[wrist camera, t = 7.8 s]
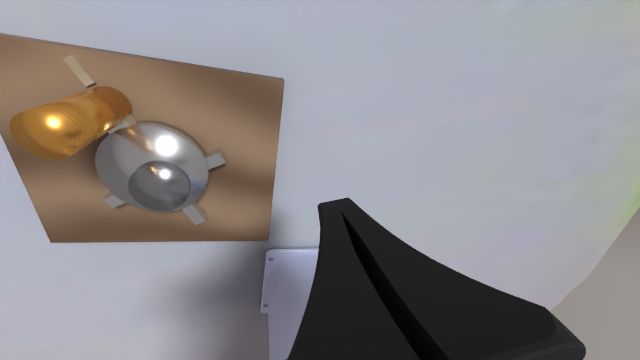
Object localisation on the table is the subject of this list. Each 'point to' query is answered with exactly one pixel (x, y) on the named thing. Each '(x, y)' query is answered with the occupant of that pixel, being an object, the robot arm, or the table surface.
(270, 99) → the walnut base
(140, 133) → the dial
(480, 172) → the table surface
